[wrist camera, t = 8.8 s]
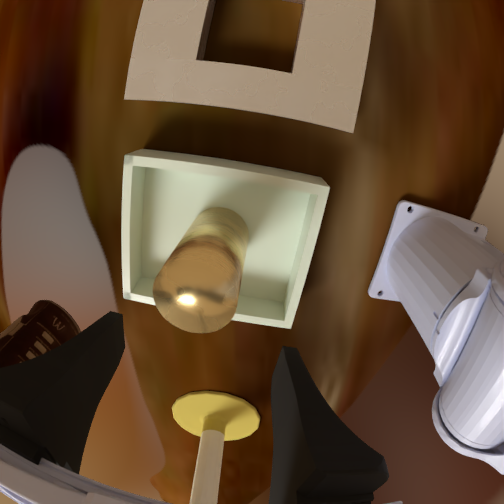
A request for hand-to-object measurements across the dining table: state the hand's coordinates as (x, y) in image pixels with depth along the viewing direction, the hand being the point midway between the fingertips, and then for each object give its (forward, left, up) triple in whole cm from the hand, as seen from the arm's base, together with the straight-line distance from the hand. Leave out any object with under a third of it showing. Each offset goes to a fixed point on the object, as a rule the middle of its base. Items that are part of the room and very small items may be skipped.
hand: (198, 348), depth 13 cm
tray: (+1, -1, -10) cm, 10 cm away
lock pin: (+1, -1, -10) cm, 10 cm away
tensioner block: (+1, -15, -10) cm, 19 cm away
